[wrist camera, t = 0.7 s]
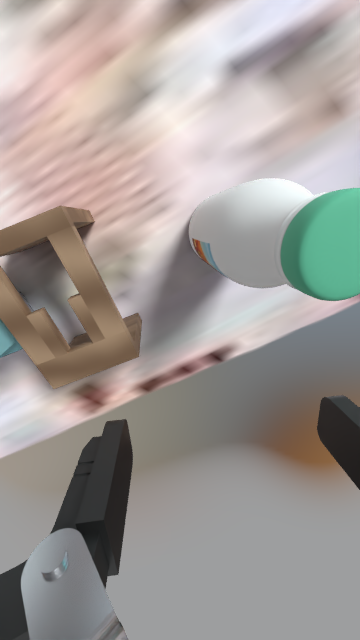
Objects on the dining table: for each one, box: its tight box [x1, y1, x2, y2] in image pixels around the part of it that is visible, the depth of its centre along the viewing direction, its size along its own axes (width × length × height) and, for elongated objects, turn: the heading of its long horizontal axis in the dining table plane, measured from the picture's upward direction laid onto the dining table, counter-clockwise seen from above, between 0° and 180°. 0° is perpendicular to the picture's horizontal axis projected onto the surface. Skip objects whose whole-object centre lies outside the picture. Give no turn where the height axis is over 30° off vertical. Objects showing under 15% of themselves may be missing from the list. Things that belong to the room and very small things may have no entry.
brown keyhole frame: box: [0, 206, 142, 389], centre depth 24 cm, size 14×9×9 cm, turn 20°
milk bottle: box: [189, 178, 360, 301], centre depth 19 cm, size 8×8×20 cm
